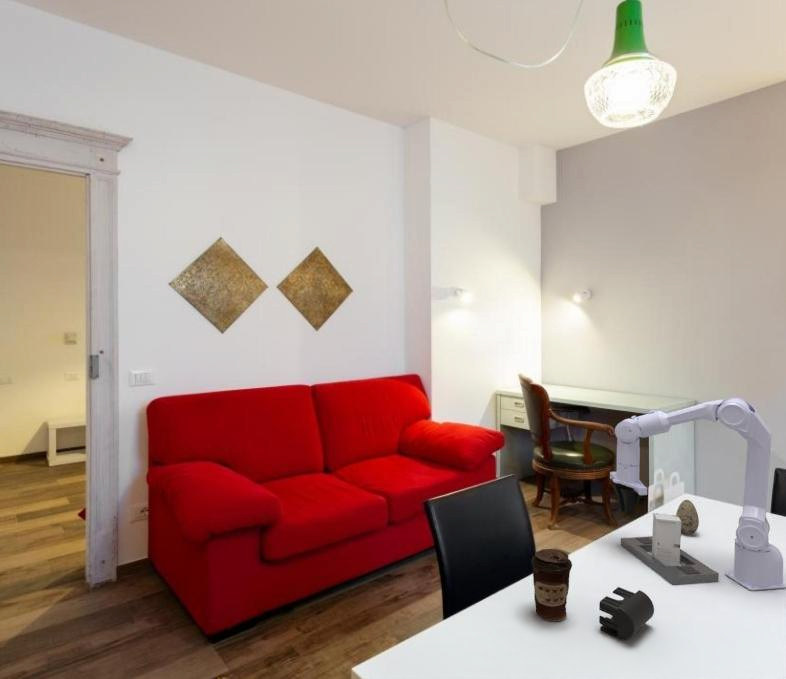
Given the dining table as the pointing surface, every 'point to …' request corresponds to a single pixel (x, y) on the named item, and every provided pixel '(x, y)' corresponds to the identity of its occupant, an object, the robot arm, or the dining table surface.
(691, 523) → the decorative egg
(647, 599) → the end cap
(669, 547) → the skincare box
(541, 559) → the coffee cup
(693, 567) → the plate
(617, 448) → the robot arm
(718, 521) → the dining table surface
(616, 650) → the dining table surface
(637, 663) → the dining table surface
